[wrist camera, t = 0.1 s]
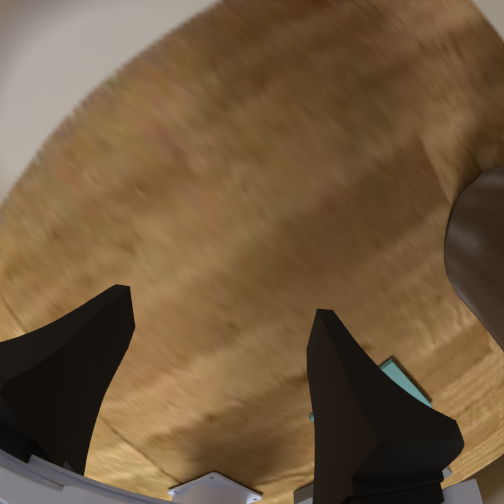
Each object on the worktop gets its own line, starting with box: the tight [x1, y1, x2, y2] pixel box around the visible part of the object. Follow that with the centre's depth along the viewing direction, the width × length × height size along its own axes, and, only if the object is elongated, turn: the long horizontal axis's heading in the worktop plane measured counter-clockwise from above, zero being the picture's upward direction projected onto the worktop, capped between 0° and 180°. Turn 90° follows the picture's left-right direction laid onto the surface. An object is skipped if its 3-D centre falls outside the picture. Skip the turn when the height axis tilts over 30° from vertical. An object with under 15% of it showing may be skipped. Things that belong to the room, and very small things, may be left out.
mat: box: [309, 359, 432, 422], centre depth 26 cm, size 9×9×1 cm
